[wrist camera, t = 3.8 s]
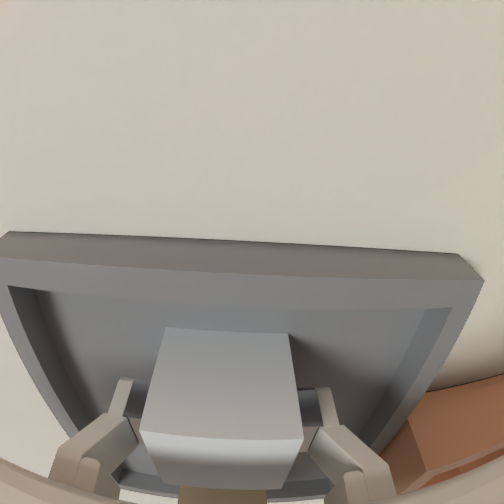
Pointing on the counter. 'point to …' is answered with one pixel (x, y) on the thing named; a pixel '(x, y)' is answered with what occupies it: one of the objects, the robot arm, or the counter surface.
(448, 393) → the salmon square storage bin
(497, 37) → the counter surface
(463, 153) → the counter surface
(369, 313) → the parts tray
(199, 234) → the counter surface
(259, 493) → the beige wooden cube
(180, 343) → the pebble gray block
